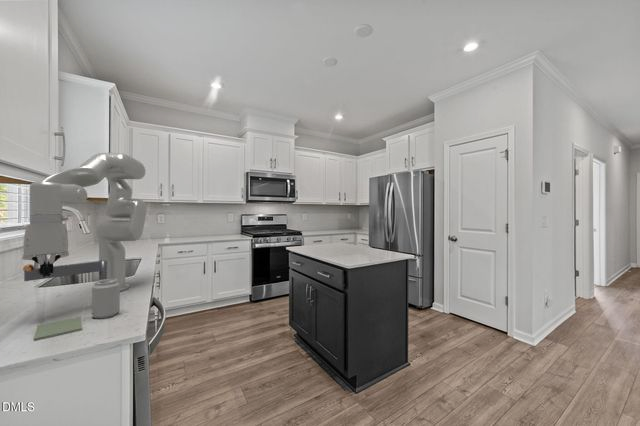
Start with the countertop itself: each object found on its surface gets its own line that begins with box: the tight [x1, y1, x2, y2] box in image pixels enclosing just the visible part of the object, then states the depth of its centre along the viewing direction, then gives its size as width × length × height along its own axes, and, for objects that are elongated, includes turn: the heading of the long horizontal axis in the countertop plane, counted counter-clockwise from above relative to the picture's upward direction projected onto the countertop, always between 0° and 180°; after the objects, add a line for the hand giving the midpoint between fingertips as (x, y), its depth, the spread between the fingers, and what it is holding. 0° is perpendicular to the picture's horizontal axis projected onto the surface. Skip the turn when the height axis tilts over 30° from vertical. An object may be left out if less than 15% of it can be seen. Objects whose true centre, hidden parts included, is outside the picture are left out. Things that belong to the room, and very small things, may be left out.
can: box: [91, 279, 121, 319], centre depth 93 cm, size 8×8×12 cm
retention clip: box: [22, 260, 107, 282], centre depth 94 cm, size 22×3×17 cm, turn 140°
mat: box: [33, 316, 83, 341], centre depth 82 cm, size 12×10×1 cm
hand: (46, 275), depth 88 cm, fingers closed
